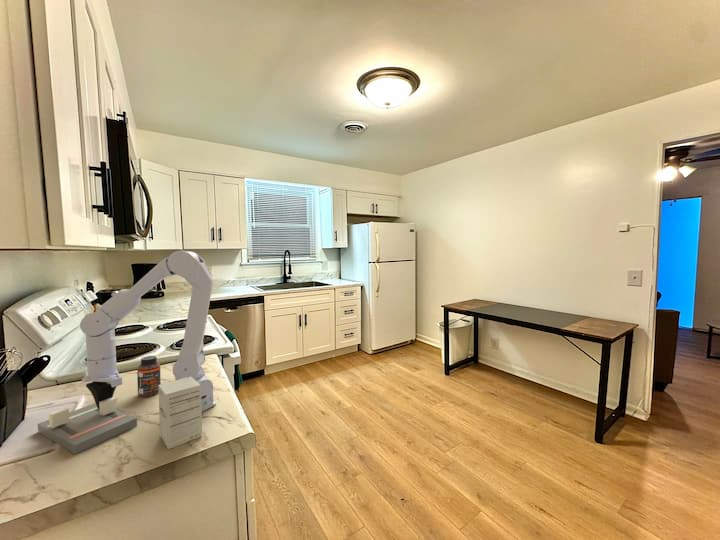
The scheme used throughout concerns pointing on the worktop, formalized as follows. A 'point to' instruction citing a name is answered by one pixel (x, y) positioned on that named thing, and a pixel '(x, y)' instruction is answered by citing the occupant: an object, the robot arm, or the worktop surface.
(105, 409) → the block
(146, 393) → the supplement bottle
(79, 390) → the worktop surface
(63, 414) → the block
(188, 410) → the supplement box
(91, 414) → the board
